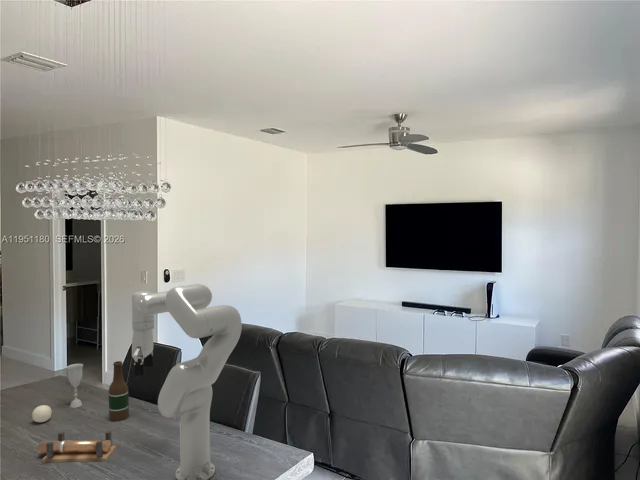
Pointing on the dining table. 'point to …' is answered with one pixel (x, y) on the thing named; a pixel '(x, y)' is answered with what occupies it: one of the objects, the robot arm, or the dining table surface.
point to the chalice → (75, 381)
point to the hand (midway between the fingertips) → (144, 370)
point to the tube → (74, 446)
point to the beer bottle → (118, 395)
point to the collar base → (77, 457)
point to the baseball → (41, 413)
